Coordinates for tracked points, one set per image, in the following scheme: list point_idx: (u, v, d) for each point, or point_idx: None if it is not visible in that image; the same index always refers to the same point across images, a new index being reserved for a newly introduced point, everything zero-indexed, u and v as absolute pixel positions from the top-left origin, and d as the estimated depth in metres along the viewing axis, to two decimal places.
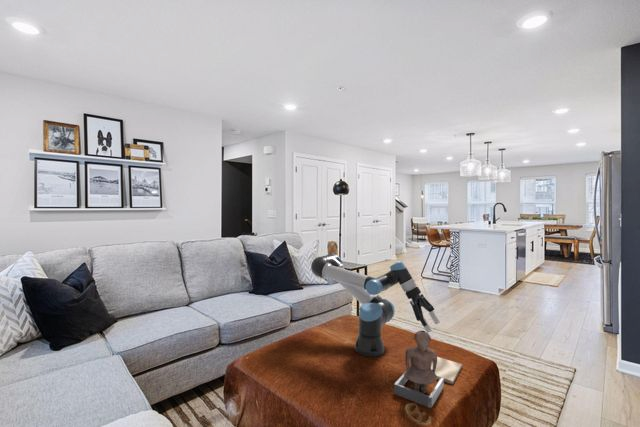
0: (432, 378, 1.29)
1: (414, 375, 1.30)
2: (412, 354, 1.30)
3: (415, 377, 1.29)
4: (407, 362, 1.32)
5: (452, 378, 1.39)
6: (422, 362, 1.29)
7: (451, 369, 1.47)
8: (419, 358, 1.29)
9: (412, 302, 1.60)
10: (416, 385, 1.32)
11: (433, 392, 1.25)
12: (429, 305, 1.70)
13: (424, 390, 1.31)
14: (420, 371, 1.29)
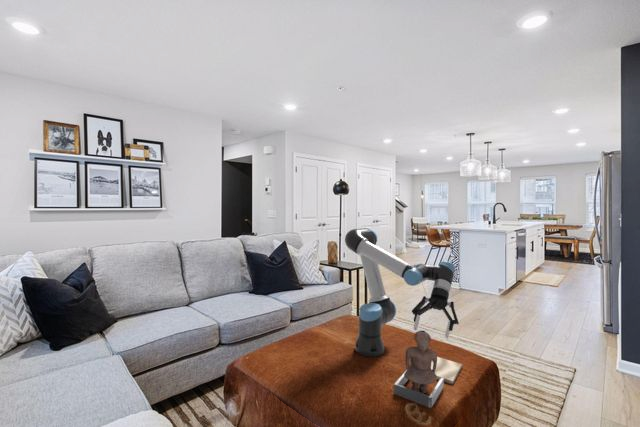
0: (432, 378, 1.29)
1: (414, 375, 1.30)
2: (412, 354, 1.30)
3: (415, 377, 1.29)
4: (407, 362, 1.32)
5: (452, 378, 1.39)
6: (422, 362, 1.29)
7: (451, 369, 1.47)
8: (419, 358, 1.29)
9: (453, 304, 1.44)
10: (416, 385, 1.32)
11: (433, 392, 1.25)
12: None
13: (424, 390, 1.31)
14: (420, 371, 1.29)
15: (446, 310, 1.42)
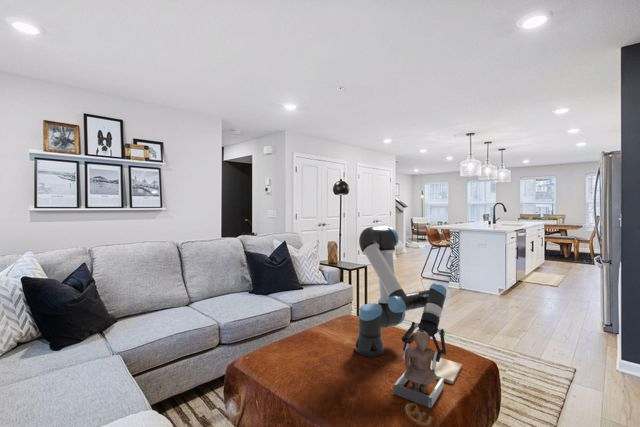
0: (432, 378, 1.29)
1: (414, 375, 1.30)
2: (411, 354, 1.30)
3: (415, 377, 1.29)
4: (407, 362, 1.32)
5: (452, 378, 1.39)
6: (421, 362, 1.29)
7: (451, 369, 1.47)
8: (418, 358, 1.29)
9: (444, 332, 1.35)
10: (416, 385, 1.32)
11: (433, 392, 1.25)
12: (407, 337, 1.40)
13: (424, 390, 1.31)
14: (420, 371, 1.29)
15: (435, 338, 1.33)
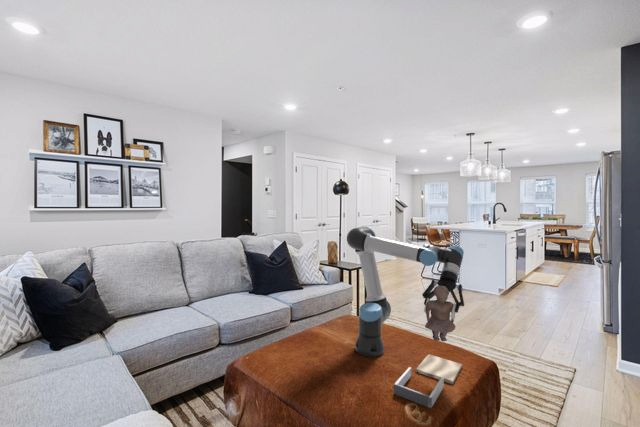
0: (451, 327, 1.42)
1: (434, 324, 1.43)
2: (432, 306, 1.43)
3: (435, 326, 1.42)
4: (427, 314, 1.45)
5: (452, 378, 1.39)
6: (441, 313, 1.42)
7: (451, 369, 1.47)
8: (438, 309, 1.42)
9: None
10: (436, 334, 1.45)
11: (433, 392, 1.25)
12: None
13: (444, 339, 1.44)
14: (440, 321, 1.42)
15: (453, 292, 1.46)
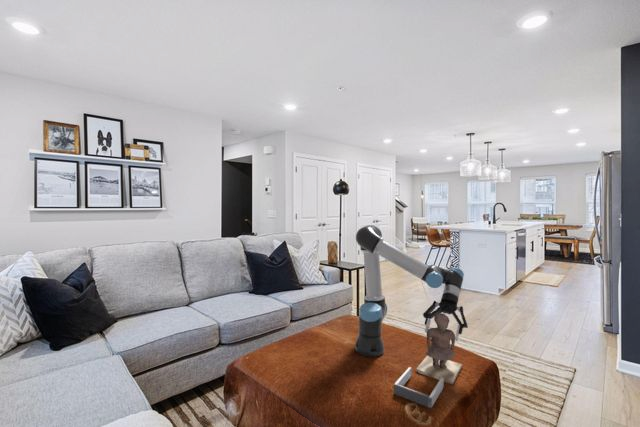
0: (451, 355, 1.45)
1: (435, 352, 1.46)
2: (433, 334, 1.47)
3: (436, 354, 1.46)
4: (428, 341, 1.49)
5: (452, 378, 1.39)
6: (442, 341, 1.45)
7: (451, 369, 1.47)
8: (439, 337, 1.46)
9: None
10: (436, 362, 1.48)
11: (433, 392, 1.25)
12: (428, 314, 1.58)
13: (444, 366, 1.48)
14: (440, 349, 1.46)
15: None
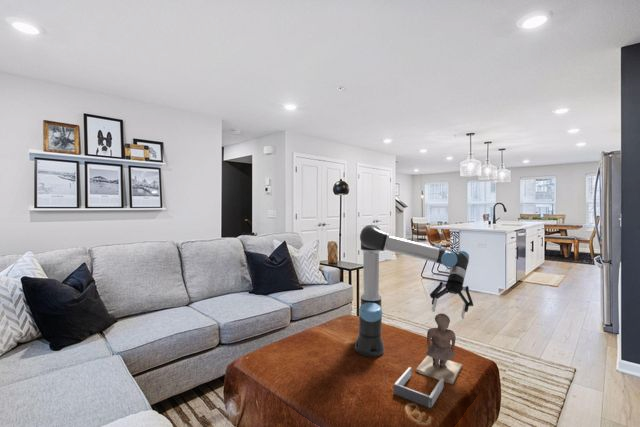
0: (451, 355, 1.45)
1: (435, 352, 1.46)
2: (433, 334, 1.47)
3: (436, 354, 1.46)
4: (429, 341, 1.49)
5: (452, 378, 1.39)
6: (442, 341, 1.45)
7: (451, 369, 1.47)
8: (439, 337, 1.46)
9: (468, 288, 1.58)
10: (437, 362, 1.48)
11: (433, 392, 1.25)
12: None
13: (444, 366, 1.48)
14: (440, 349, 1.46)
15: (462, 294, 1.57)
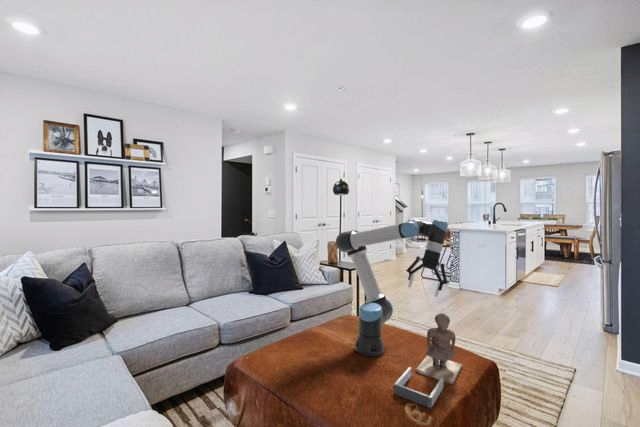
0: (451, 355, 1.45)
1: (435, 352, 1.46)
2: (433, 334, 1.47)
3: (436, 354, 1.46)
4: (429, 341, 1.49)
5: (452, 378, 1.39)
6: (442, 341, 1.45)
7: (451, 369, 1.47)
8: (439, 337, 1.46)
9: (444, 265, 1.56)
10: (437, 362, 1.48)
11: (433, 392, 1.25)
12: (412, 268, 1.65)
13: (444, 366, 1.48)
14: (440, 349, 1.46)
15: (437, 272, 1.56)
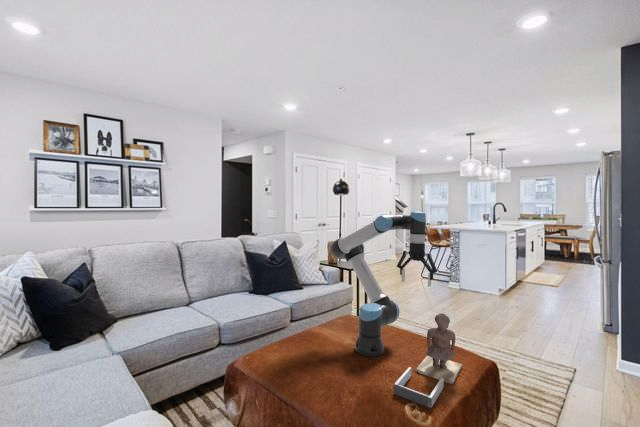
0: (451, 355, 1.45)
1: (435, 352, 1.46)
2: (433, 334, 1.47)
3: (436, 354, 1.46)
4: (428, 341, 1.49)
5: (452, 378, 1.39)
6: (442, 341, 1.45)
7: (451, 369, 1.47)
8: (439, 337, 1.46)
9: (430, 254, 1.58)
10: (437, 362, 1.48)
11: (433, 392, 1.25)
12: (401, 263, 1.67)
13: (444, 366, 1.48)
14: (440, 349, 1.46)
15: (425, 262, 1.58)
